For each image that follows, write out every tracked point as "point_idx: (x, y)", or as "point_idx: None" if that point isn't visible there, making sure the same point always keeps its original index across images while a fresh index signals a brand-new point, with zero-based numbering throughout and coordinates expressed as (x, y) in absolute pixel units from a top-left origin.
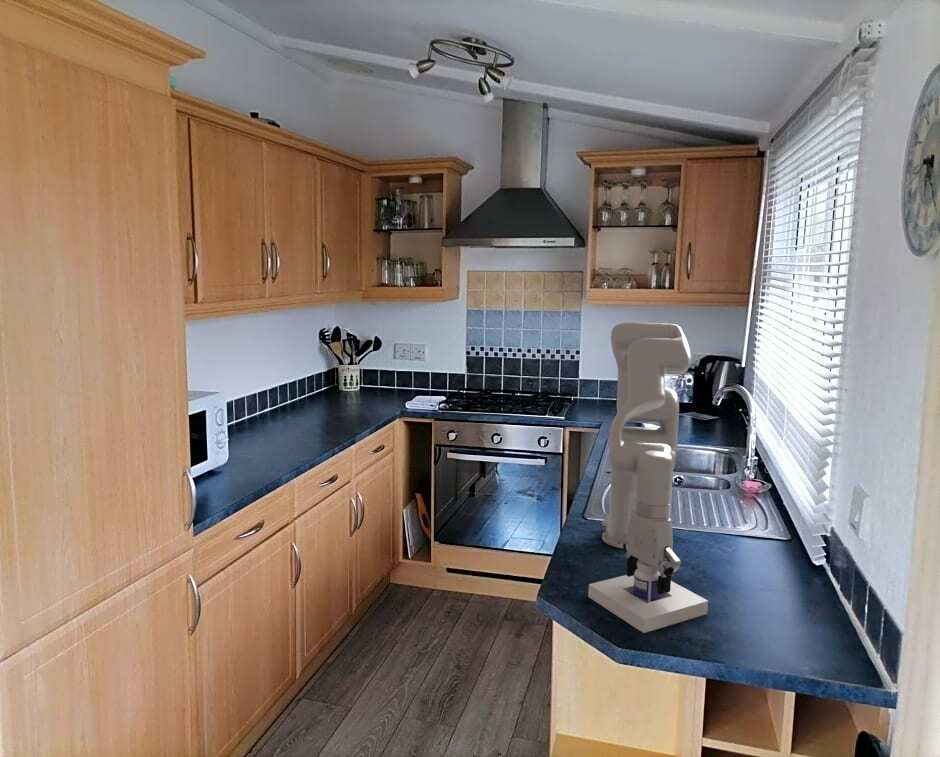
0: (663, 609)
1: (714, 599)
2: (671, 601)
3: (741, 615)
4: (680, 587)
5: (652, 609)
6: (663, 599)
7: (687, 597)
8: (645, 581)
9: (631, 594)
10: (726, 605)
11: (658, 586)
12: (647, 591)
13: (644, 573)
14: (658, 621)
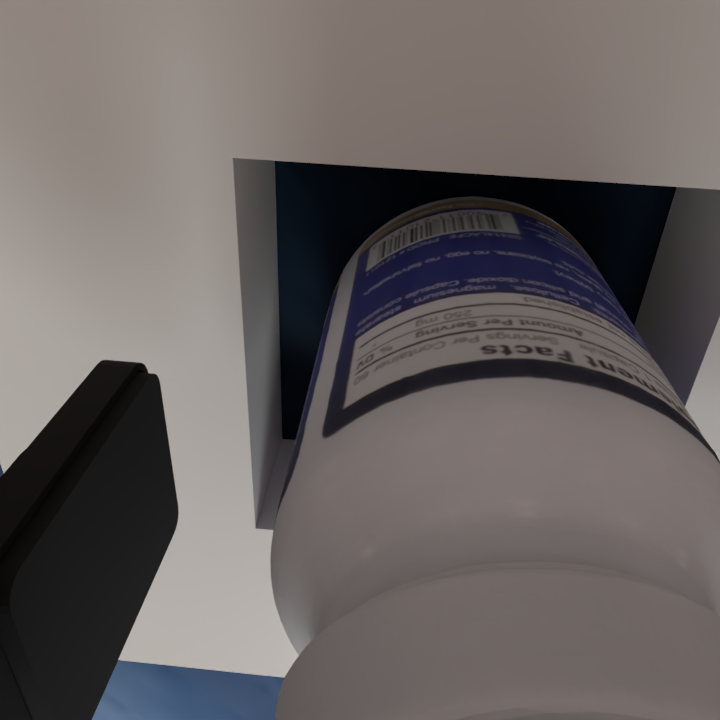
0: (5, 226)
1: (262, 705)
2: None
3: None
4: None
5: (39, 90)
6: (228, 409)
7: (171, 592)
8: (367, 407)
9: (549, 178)
10: (170, 697)
11: (70, 428)
12: (346, 334)
13: (437, 533)
14: None
